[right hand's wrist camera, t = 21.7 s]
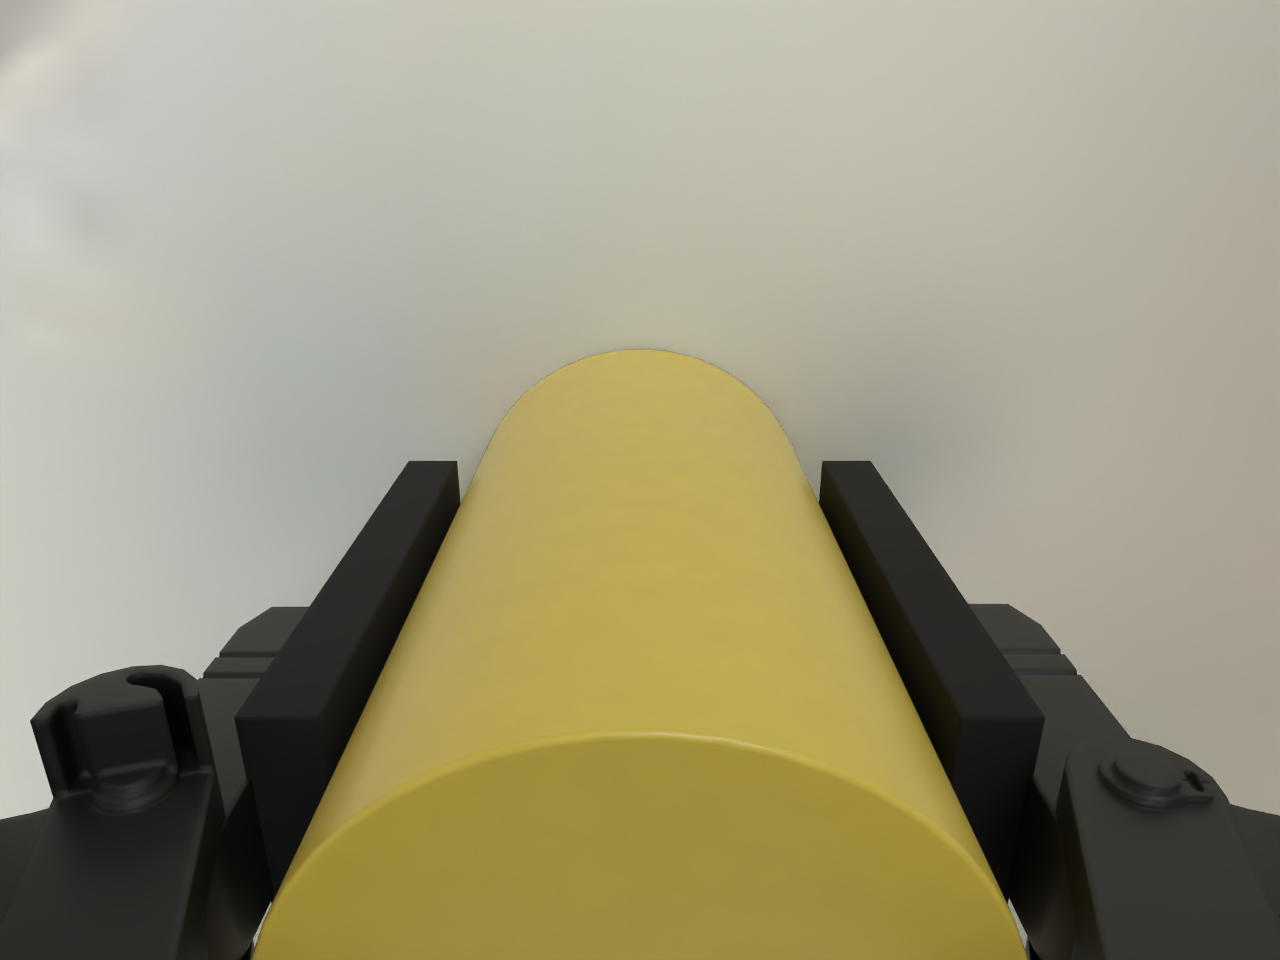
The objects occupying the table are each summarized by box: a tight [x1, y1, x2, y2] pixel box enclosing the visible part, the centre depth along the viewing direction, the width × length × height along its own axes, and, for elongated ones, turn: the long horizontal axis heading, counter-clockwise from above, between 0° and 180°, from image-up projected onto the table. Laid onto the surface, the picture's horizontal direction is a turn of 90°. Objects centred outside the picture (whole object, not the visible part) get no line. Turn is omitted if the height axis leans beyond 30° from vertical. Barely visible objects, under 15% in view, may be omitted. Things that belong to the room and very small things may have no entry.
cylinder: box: [251, 349, 1028, 960], centre depth 11 cm, size 6×6×10 cm
